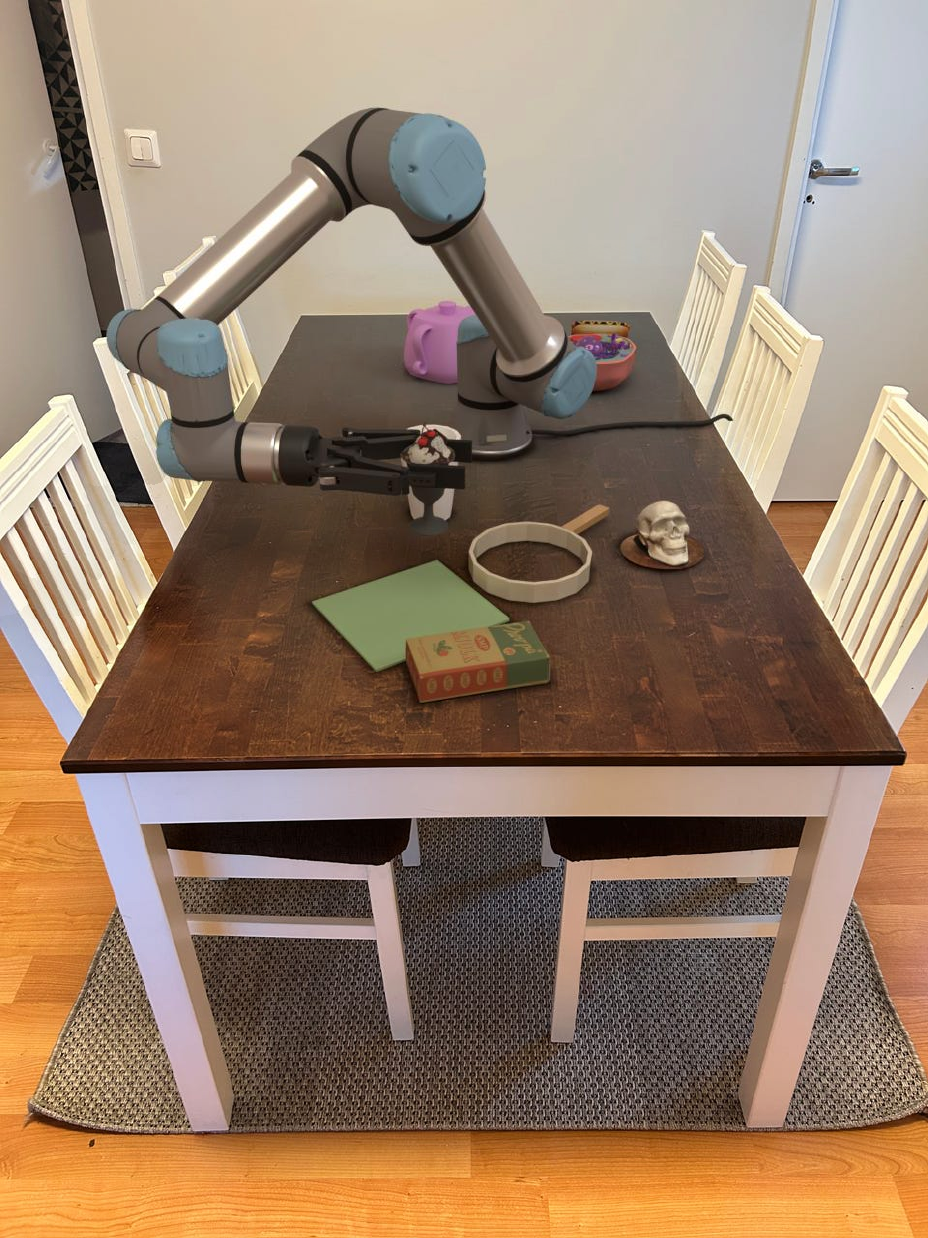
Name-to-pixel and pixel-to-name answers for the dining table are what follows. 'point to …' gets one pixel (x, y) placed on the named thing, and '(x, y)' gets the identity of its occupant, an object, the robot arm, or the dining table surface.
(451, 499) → the foam cup
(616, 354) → the cell model
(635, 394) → the dining table surface
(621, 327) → the hot dog
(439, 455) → the sundae
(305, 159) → the robot arm
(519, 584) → the pan
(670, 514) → the skull
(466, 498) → the dining table surface
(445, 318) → the teapot
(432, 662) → the carton
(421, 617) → the mat
